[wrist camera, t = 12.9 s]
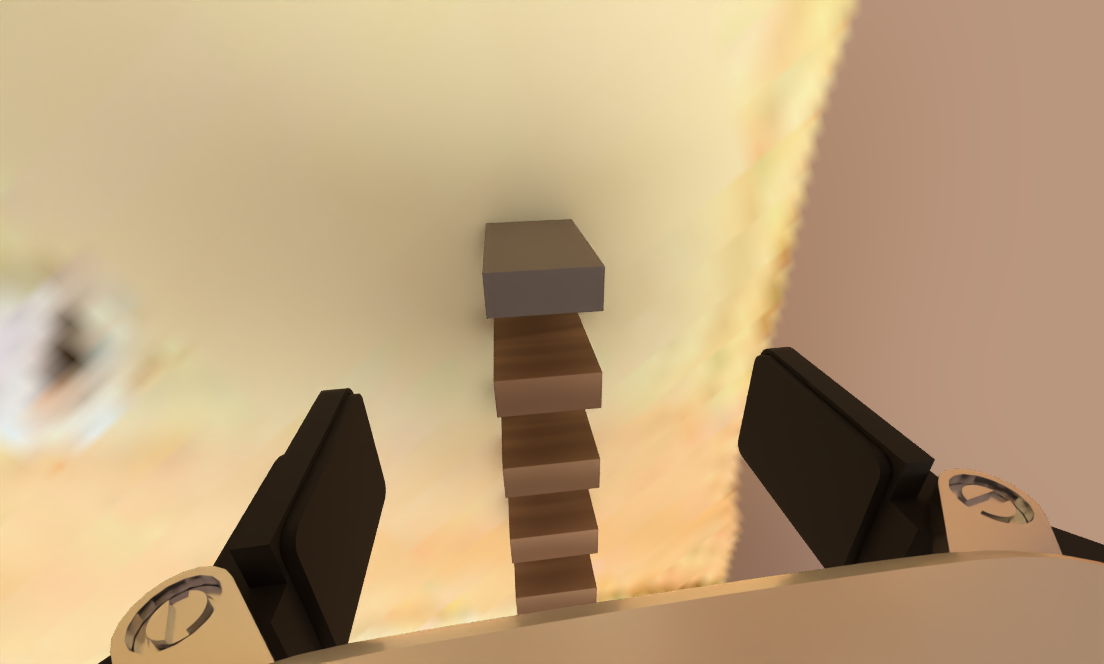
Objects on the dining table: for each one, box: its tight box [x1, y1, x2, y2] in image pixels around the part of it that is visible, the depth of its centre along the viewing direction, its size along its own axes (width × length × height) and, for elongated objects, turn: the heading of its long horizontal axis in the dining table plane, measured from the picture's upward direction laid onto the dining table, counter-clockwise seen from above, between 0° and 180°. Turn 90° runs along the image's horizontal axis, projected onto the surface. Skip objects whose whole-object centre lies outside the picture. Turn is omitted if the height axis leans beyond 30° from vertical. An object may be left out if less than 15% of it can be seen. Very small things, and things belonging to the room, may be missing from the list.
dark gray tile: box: [482, 219, 605, 319], centre depth 23 cm, size 2×5×9 cm, turn 91°
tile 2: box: [494, 313, 602, 417], centre depth 25 cm, size 2×5×9 cm, turn 91°
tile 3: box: [501, 409, 600, 498], centre depth 27 cm, size 2×5×9 cm, turn 92°
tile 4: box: [508, 489, 598, 563], centre depth 30 cm, size 2×5×9 cm, turn 91°
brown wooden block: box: [514, 554, 597, 615], centre depth 32 cm, size 2×5×9 cm, turn 92°
